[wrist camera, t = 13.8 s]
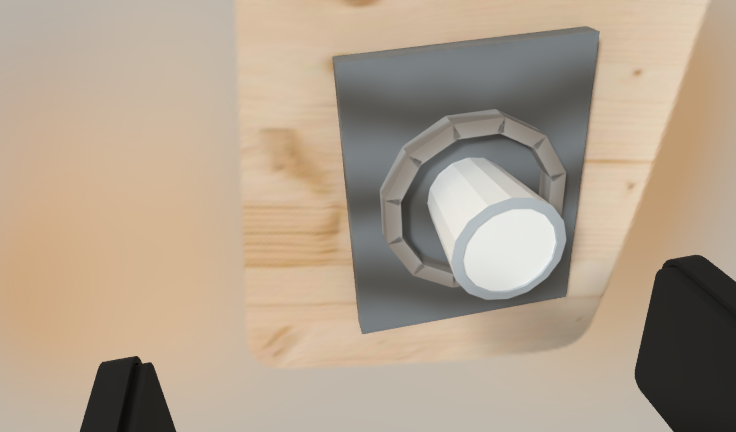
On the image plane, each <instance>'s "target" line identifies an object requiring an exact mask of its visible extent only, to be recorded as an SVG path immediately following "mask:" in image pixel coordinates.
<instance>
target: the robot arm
mask: <svg viewBox="0 0 736 432" xmlns="http://www.w3.org/2000/svg"><path fill="white" fill-rule="evenodd" d="M635 379H636V383H637V385H638V387H639V389H640V390H641V392H642V393H643V394H644V395H645V397H646V398H647V399H648V400H649V402H650V403H651V404H652V405H653V407H654V408H655V409H656V410H657V412H658V413H659V414H660V415H661V416H662V418H663V419H664V420H665V422H666V423H667V424H668V425H669V427H670V428H671V429H672V430H673V431H674V432H736V282H735V281H734V280H733V279H732V278H730V277H729V276H728V275H726V274H725V273H724V272H723V271H721V270H720V269H719V268H718V267H716V266H715V265H714V264H712V263H711V262H710V261H709V260H707V259H706V258H704V257H703V256H700V255H692V256H686V257H681V258H675V259H670V260H667V261H666V262H665V263H664V264H663V267H662V269H660V270H659V271H658V272H657V274H656V277H655V281H654V286H653V290H652V295H651V300H650V304H649V309H648V313H647V318H646V322H645V327H644V331H643V336H642V341H641V345H640V349H639V354H638V359H637V363H636V368H635ZM80 432H176V430H175V427H174V424H173V421H172V418H171V415H170V412H169V409H168V406H167V404H166V400H165V398H164V395H163V392H162V389H161V386H160V383H159V380H158V377H157V374H156V371H155V369H154V366H153V364H152V363H150V362H149V363H144V364H142V362H141V360H140V358H139V357H138V356H134V357H128V358H123V359H117V360H111V361H106V362H102V363H101V364H100V366H99V368H98V371H97V375H96V378H95V381H94V385H93V388H92V391H91V395H90V398H89V402H88V406H87V409H86V412H85V415H84V419H83V422H82V426H81V429H80Z"/></svg>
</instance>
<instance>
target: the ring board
mask: <svg viewBox="0 0 736 432" xmlns="http://www.w3.org/2000/svg"><path fill="white" fill-rule="evenodd" d="M599 32H600V31H597V30H595V29H592V28H590V27H587V26H586V27H577V28H569V29H561V30H552V31H544V32H536V33H527V34H519V35H511V36H502V37H494V38H485V39H477V40H469V41H460V42H452V43H444V44H435V45H427V46H419V47H410V48H402V49H394V50H385V51H377V52H368V53H360V54H352V55H343V56H335V57H333V66H334V77H335V87H336V97H337V107H338V117H339V127H340V137H341V147H342V157H343V167H344V178H345V188H346V198H347V208H348V218H349V228H350V238H351V248H352V258H353V268H354V279H355V289H356V299H357V309H358V319H359V324H360V328H361V331H362V334H366V333H372V332H377V331H383V330H388V329H393V328H399V327H404V326H410V325H415V324H420V323H426V322H431V321H437V320H442V319H447V318H453V317H458V316H464V315H469V314H474V313H480V312H485V311H491V310H496V309H501V308H507V307H512V306H518V305H523V304H528V303H534V302H539V301H544V300H550V299H555V298H561V297H566V291H567V283H568V275H569V267H570V259H571V251H572V244H573V236H574V228H575V220H576V212H577V204H578V196H579V189H580V181H581V173H582V165H583V157H584V149H585V142H586V134H587V126H588V118H589V110H590V102H591V94H592V87H593V79H594V71H595V63H596V55H597V47H598V39H599ZM466 158H485V159H487V160H489V161H491V162H493V163H496V164H497V165H499V166H500V167H501V168H503V169H504V170H505V171H507V172H508V173H509V174H511V175H512V176H513V177H515V178H516V179H517V180H519V181H520V182H521V183H523V184H524V185H525V186H527V187H528V188H529V189H531V190H532V191H533V192H535V193H536V194H537V195H539V196H540V197H541V198H543V199H544V200H545V201H547V202H548V203H549V204H551V205H552V206H553V207H554V208H555V210H556V211H557V213H558V214H559V215H560V217H561V218H562V219H563V221H564V225H565V233H566V243H565V246H564V250H563V253H562V256H561V259H560V261H559V262H558V264H557V265H556V266H555V268H554V269H553V270H552V272H551V273H550V275H549V276H548V277H547V278H546V279H545V280H543V281H542V282H541V283H539V284H538V285H537V286H535V287H534V288H533V289H531V290H530V291H528V292H526V293H523V294H520V295H517V296H514V297H512V298H509V299H494V300H486V299H483V298H480V297H477V296H475V295H472V294H469V293H468V292H467V291H466V290H465V289H464V288H463V287H462V286H461V285H460V284H459V283H458V282H457V281H456V279H455V277H454V274H453V272H452V269H451V267H450V264H449V261H448V259H447V256H446V254H445V251H444V249H443V246H442V244H441V241H440V239H439V236H438V233H437V231H436V228H435V226H434V223H433V221H432V218H431V215H430V211H429V208H428V204H427V202H428V196H429V191H430V187H431V186H432V184H433V182H434V181H435V179H436V178H437V176H438V174H439V173H441V172H442V171H443V170H444V169H446V168H447V167H448V166H449V165H451V164H452V163H454V162H457V161H460V160H463V159H466Z"/></svg>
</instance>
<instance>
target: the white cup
mask: <svg viewBox="0 0 736 432" xmlns="http://www.w3.org/2000/svg"><path fill="white" fill-rule="evenodd" d="M427 204H428V208H429V211H430V215H431V218H432V221H433V223H434V226H435V228H436V231H437V233H438V236H439V239H440V241H441V244H442V246H443V249H444V251H445V254H446V256H447V259H448V261H449V264H450V267H451V269H452V272H453V274H454V277H455V279H456V281H457V282H458V283H459V284H460V285H461V286H462V287H463V288H464V289H465V290H466V291H467V292H468V293H469V294H472V295H475V296H477V297H480V298H483V299H486V300H494V299H509V298H512V297H514V296H517V295H520V294H523V293H526V292H528V291H530V290H531V289H533V288H534V287H535V286H537V285H538V284H539V283H541V282H542V281H543V280H545V279H546V278H547V277H548V276H549V275H550V273H551V272H552V270H553V269H554V268H555V266H556V265H557V264H558V262H559V261H560V259H561V256H562V253H563V250H564V246H565V243H566V233H565V225H564V221H563V219H562V218H561V217H560V215H559V214H558V213H557V211H556V210H555V208H554V207H553V206H552V205H551V204H549V203H548V202H547V201H545V200H544V199H543V198H541V197H540V196H539V195H537V194H536V193H535V192H533V191H532V190H531V189H529V188H528V187H527V186H525V185H524V184H523V183H521V182H520V181H519V180H517V179H516V178H515V177H513V176H512V175H511V174H509V173H508V172H507V171H505V170H504V169H503V168H501V167H500V166H499V165H497V164H496V163H493V162H491V161H489V160H487V159H485V158H466V159H463V160H460V161H457V162H454V163H452V164H451V165H449V166H448V167H447V168H446V169H444V170H443V171H442V172H441V173H439V174H438V176H437V178H436V179H435V181H434V182H433V184H432V186H431V187H430V191H429V196H428V202H427Z"/></svg>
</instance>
